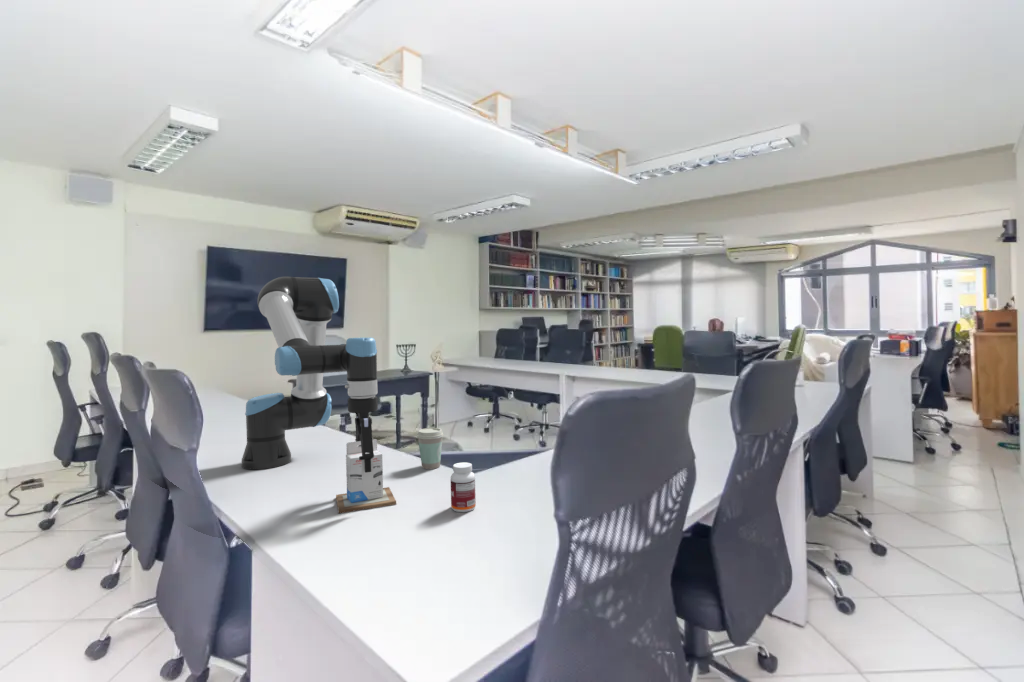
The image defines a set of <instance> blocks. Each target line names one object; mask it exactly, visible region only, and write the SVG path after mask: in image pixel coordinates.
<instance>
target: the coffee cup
mask: <svg viewBox="0 0 1024 682" xmlns="http://www.w3.org/2000/svg"><path fill="white" fill-rule="evenodd" d="M443 437H444V433H443V429H442V428H440V427H426V428H421V429H419V430H418V431H417V435H416V438H417V440H418V448H419V455H420V462H421V468H422V469H423V470H424V469H425V470H434V469H439V468H440V467H441V459H442V447H443V446H442V445H443Z"/></svg>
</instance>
